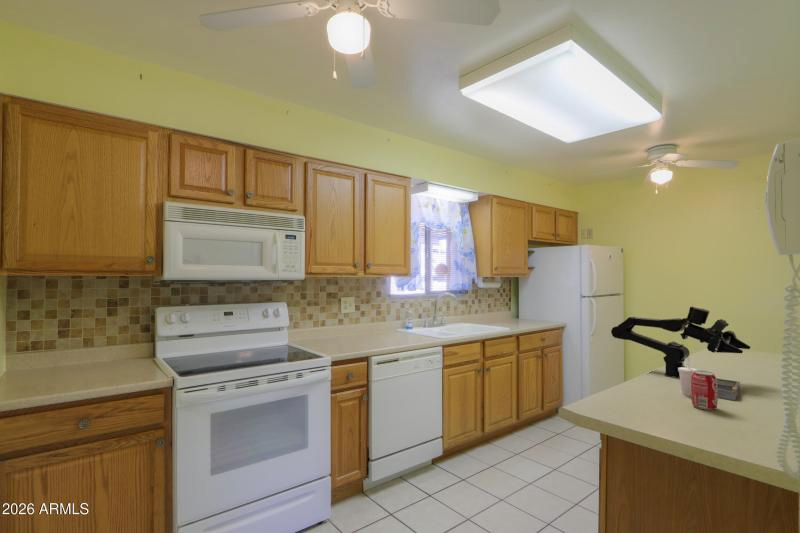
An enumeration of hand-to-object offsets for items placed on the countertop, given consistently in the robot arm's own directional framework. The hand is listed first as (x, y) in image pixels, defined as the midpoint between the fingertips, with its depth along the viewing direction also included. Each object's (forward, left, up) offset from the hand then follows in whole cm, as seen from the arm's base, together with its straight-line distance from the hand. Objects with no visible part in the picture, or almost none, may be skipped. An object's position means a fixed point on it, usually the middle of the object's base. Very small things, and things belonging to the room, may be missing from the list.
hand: (746, 350), depth 158 cm
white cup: (-15, -26, -16) cm, 34 cm away
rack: (-7, -12, -16) cm, 21 cm away
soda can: (-9, -40, -16) cm, 44 cm away
